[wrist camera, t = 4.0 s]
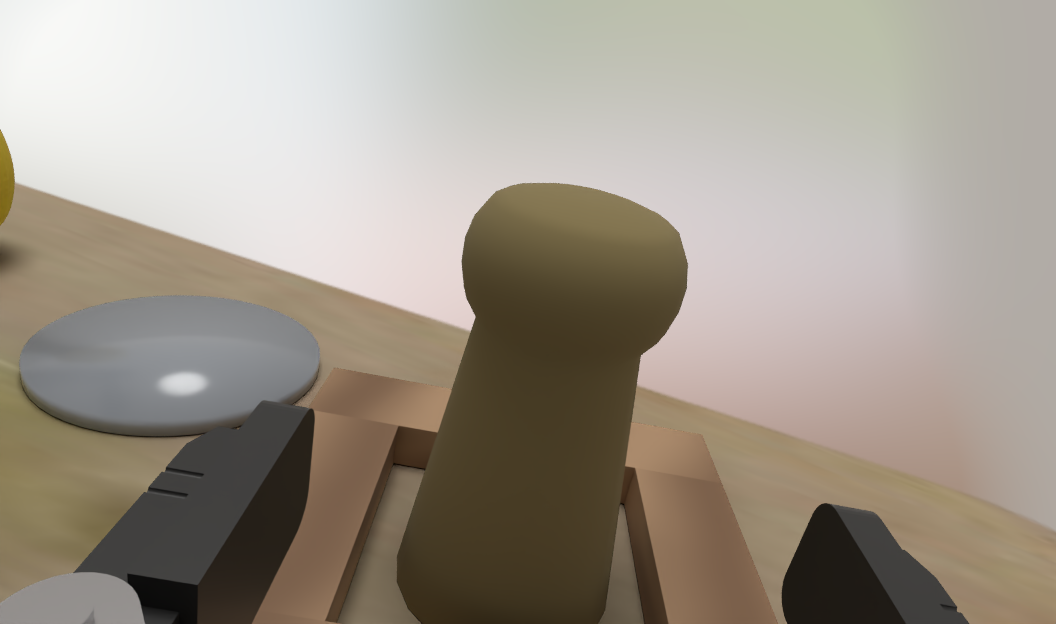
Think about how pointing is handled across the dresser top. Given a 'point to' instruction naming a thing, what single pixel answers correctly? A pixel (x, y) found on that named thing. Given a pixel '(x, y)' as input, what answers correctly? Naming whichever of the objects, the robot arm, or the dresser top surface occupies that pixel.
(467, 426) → the cork
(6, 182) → the lemon
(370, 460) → the walnut board
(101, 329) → the slate coaster
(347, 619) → the dresser top surface
